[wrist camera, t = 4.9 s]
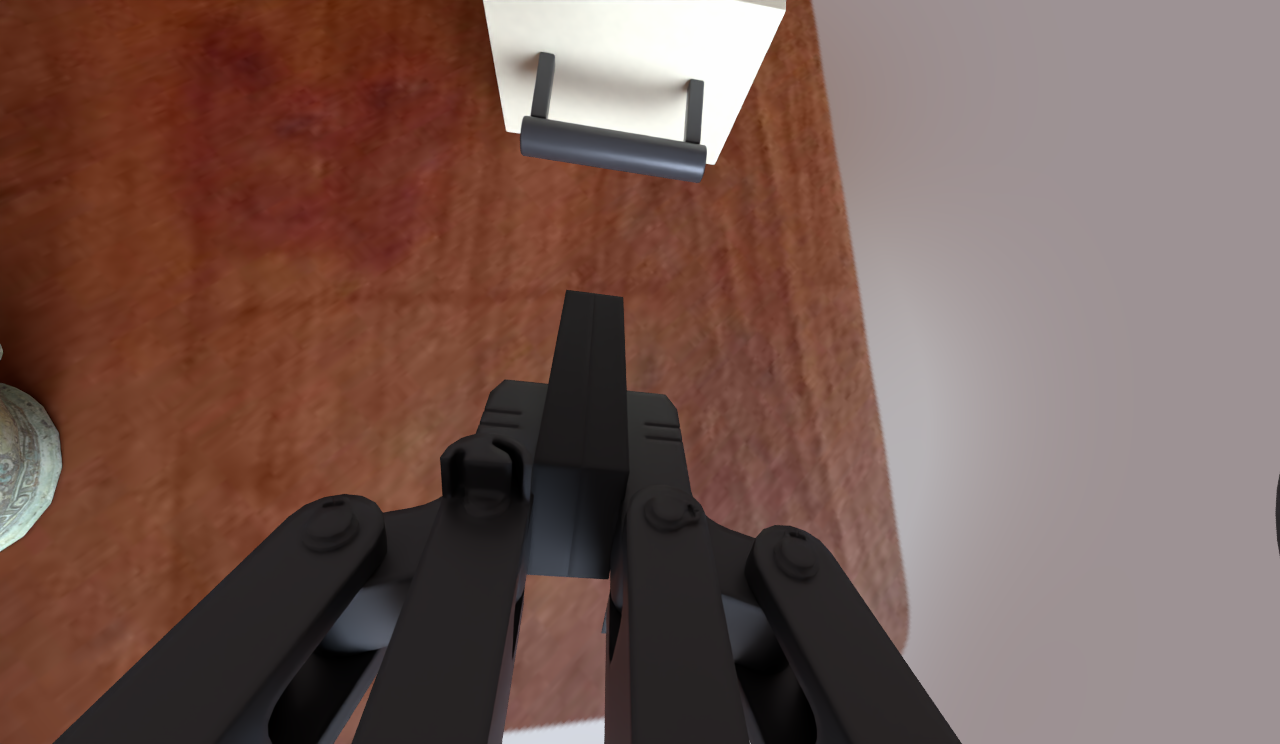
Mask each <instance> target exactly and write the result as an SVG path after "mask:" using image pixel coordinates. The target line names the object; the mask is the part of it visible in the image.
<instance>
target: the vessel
mask: <svg viewBox="0 0 1280 744" xmlns="http://www.w3.org/2000/svg"><path fill="white" fill-rule="evenodd" d="M2 354H3V349H2V346H1V344H0V360H1V358H2ZM61 469H62V458H61V448H60V437H59V432H58V431H57V429H56V427H55V426H54V424H53V422H52V420H51V419H50V417H49V415H48V414H47V412H46V410H45V409H44V407H43V406H42V405H41V404H39V403H38V402H37V401H36V400H35V399H34V398H32V397H31V396H30V395H28V394H27V393H25V392H23V391H21V390H19V389H17V388H15V387H12V386H9V385H6V384H3V383H0V551H2V550H3V549H5V548H6V547H8V546H9V545H11V544H13V543H14V542H16V541H17V540H19V539H20V538H22V537H23V536H24V535H25V534H26V533H27V532H28V530H29V529H30V528H31V527H32V526H33V524H34V523H35V522H36V521H37V520H38V518H39V517H40V516H41V515H42V514H43V512H44V511H45V510H46V509H47V507H48V506H49V505H50V504H51V502H52V499H53V496H54V492H55V489H56V486H57V482H58V479H59V476H60V472H61Z"/></svg>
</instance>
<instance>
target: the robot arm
mask: <svg viewBox="0 0 1280 744" xmlns="http://www.w3.org/2000/svg"><path fill="white" fill-rule="evenodd" d="M440 463H441V478H442V493H443V496H442V497H440V498H439V499H436V500H434V501H432V502H430V503H427V504H425V505H421V506H417V507H413V508H408V509H402V510H396V511H390V512H385V513H383V512H382V511H381V510H380V508H379V507H378V505H377V504H376V503H375V502H373V501H371V500H369V499H367V498H365V497H363V496H358V495H348V494H342V495H335V496H329V497H324V498H321V499H319V500H316V501H314V502H311V503H309V504H306V505H304V506H303V507H302V508H300V509H299V510H297V511H296V512H295V513H293V514H292V515H291V516H289V517H288V518H287V519H286V520H285V521H284V522H283V523H282V524H281V525H280V526H279V527H277V528H276V529H275V530H274V531H273V532H272V533H271V534H270V535H269V536H268V537H267V538H266V539H265V540H264V541H263V542H262V543H261V544H260V545H259V546H258V547H257V548H256V549H255V550H254V551H252V552H251V553H250V554H249V555H248V556H247V557H246V558H245V559H244V560H243V561H242V562H241V563H240V564H239V565H238V566H237V567H236V568H235V569H234V570H233V571H232V572H231V573H230V574H229V575H227V576H226V577H225V578H224V579H223V580H222V581H221V582H220V583H219V584H218V585H217V586H216V587H215V588H214V589H213V590H212V591H211V592H210V593H209V594H208V595H207V596H206V597H205V598H204V599H203V600H201V601H200V602H199V603H198V604H197V605H196V606H195V607H194V608H193V609H192V610H191V611H190V612H189V613H188V614H187V615H186V616H185V617H184V618H183V619H182V620H181V621H180V622H179V623H178V624H176V625H175V626H174V627H173V628H172V629H171V630H170V631H169V632H168V633H167V634H166V635H165V636H164V637H163V638H162V639H161V640H160V641H159V642H158V643H157V644H156V645H155V646H154V647H153V648H152V649H150V650H149V651H148V652H147V653H146V654H145V655H144V656H143V657H142V658H141V659H140V660H139V661H138V662H137V663H136V664H135V665H134V666H133V667H132V668H131V669H130V670H129V671H128V672H127V673H125V674H124V675H123V676H122V677H121V678H120V679H119V680H118V681H117V682H116V683H115V684H114V685H113V686H112V687H111V688H110V689H109V690H108V691H107V692H106V693H105V694H104V695H103V696H102V697H100V698H99V699H98V700H97V701H96V702H95V703H94V704H93V705H92V706H91V707H90V708H89V709H88V710H87V711H86V712H85V713H84V714H83V715H82V716H81V717H80V718H79V719H78V720H77V721H76V722H74V723H73V724H72V725H71V726H70V727H69V728H68V729H67V730H66V731H65V732H64V733H63V734H62V735H61V736H60V737H59V738H58V739H57V740H56V741H55V742H54V743H53V744H334V742H335V740H336V739H337V737H338V736H339V734H340V732H341V731H342V729H343V728H344V726H345V724H346V723H347V721H348V720H349V718H350V716H351V715H352V713H353V712H354V710H355V708H356V707H357V705H358V704H359V702H360V700H361V699H362V697H363V696H364V694H365V692H366V691H367V689H368V688H369V686H370V684H371V683H372V681H373V680H374V678H375V676H376V675H377V676H376V679H375V682H374V684H373V687H372V690H371V693H370V695H369V698H368V701H367V703H366V706H365V709H364V711H363V714H362V717H361V720H360V722H359V725H358V728H357V730H356V733H355V736H354V738H353V741H352V744H502V738H503V732H504V726H505V719H506V713H507V706H508V700H509V694H510V687H511V681H512V675H513V668H514V662H515V656H516V649H517V643H518V636H519V630H520V624H521V617H522V611H523V605H524V589H525V581H526V575H527V574H528V575H544V576H561V577H578V578H594V579H608V578H609V573H610V594H609V599H608V603H607V608H606V613H605V618H604V623H603V628H602V633H606V675H605V740H604V741H605V742H604V744H750V743H751V744H962V743H961V742H960V740H959V739H958V737H957V736H956V734H955V733H954V732H953V730H952V729H951V727H950V726H949V724H948V723H947V721H946V720H945V718H944V717H943V716H942V714H941V713H940V711H939V710H938V708H937V707H936V705H935V704H934V702H933V701H932V699H931V698H930V697H929V695H928V694H927V692H926V691H925V689H924V688H923V686H922V685H921V683H920V682H919V680H918V679H917V678H916V676H915V675H914V673H913V672H912V670H911V669H910V667H909V666H908V664H907V663H906V662H905V660H904V659H903V657H902V656H901V654H900V653H899V651H898V650H897V648H896V647H895V645H894V644H893V643H892V641H891V640H890V638H889V637H888V635H887V634H886V632H885V631H884V629H883V628H882V626H881V625H880V624H879V622H878V621H877V619H876V618H875V616H874V615H873V613H872V612H871V610H870V609H869V607H868V606H867V605H866V603H865V602H864V600H863V599H862V597H861V596H860V594H859V593H858V591H857V590H856V589H855V587H854V586H853V584H852V583H851V581H850V580H849V578H848V577H847V575H846V574H845V572H844V571H843V570H842V568H841V567H840V565H839V564H838V562H837V561H836V559H835V558H834V556H833V555H832V553H831V552H830V551H829V550H828V549H827V548H826V547H825V546H824V545H823V544H822V542H821V541H820V540H818V539H817V538H815V537H814V536H812V535H811V534H809V533H807V532H806V531H804V530H801V529H798V528H795V527H792V526H782V525H774V526H772V527H769V528H766V529H763V530H762V531H761V533H760V534H759V535H758V536H757V537H756V538H753V537H750V536H747V535H744V534H741V533H739V532H736V531H733V530H730V529H728V528H725V527H723V526H721V525H719V524H717V523H716V522H714V521H713V520H711V519H710V518H708V517H707V516H706V515H705V513H704V511H703V508H702V506H701V505H700V504H699V502H698V501H697V500H696V499H695V498H694V497H693V496H692V493H691V488H690V482H689V476H688V470H687V465H686V459H685V453H684V447H683V442H682V436H681V430H680V424H679V418H678V412H677V409H676V408H675V406H674V405H673V404H672V402H671V401H670V400H669V399H668V397H667V396H666V395H663V394H654V393H644V392H635V391H627V387H626V360H625V334H624V307H623V297H618V296H610V295H602V294H595V293H587V292H579V291H571V290H566V294H565V299H564V305H563V310H562V315H561V320H560V326H559V331H558V336H557V341H556V347H555V352H554V357H553V362H552V368H551V373H550V378H549V383H548V384H543V383H534V382H524V381H515V380H504V381H503V382H502V383H500V384H499V385H498V386H497V387H496V388H495V389H494V390H492V391H491V392H490V395H489V397H488V400H487V403H486V406H485V410H484V412H483V414H482V417H481V420H480V425H479V426H478V429H477V432H476V434H474V435H470V436H467V437H463V438H461V439H459V440H458V441H456V442H455V443H453V444H451V445H450V446H448V448H447V449H446V450H445V452H444V453H443V454H442V456H441V457H440ZM377 673H378V674H377ZM749 741H750V742H749Z"/></svg>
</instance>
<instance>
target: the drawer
mask: <svg viewBox="0 0 1280 744" xmlns="http://www.w3.org/2000/svg"><path fill="white" fill-rule="evenodd" d="M483 3H484V9H485V15H486V20H487V26H488V31H489V37H490V43H491V48H492V54H493V60H494V65H495V71H496V77H497V82H498V88H499V94H500V99H501V105H502V111H503V116H504V122H505V128H506V131H508V132H514V133H520V149H521V154H522V155H523V156H529V157H535V158H542V159H548V160H555V161H561V162H567V163H574V164H580V165H586V166H593V167H599V168H605V169H612V170H618V171H625V172H631V173H637V174H644V175H650V176H656V177H663V178H669V179H676V180H682V181H688V182H695V183H699V182H700V181H701V179H702V177H703V174H704V170H705V165H706V164H712V165H715V163H716V161H717V159H718V156H719V154H720V152H721V150H722V148H723V146H724V143H725V141H726V139H727V137H728V135H729V133H730V130H731V128H732V126H733V124H734V122H735V120H736V117H737V115H738V113H739V111H740V109H741V107H742V104H743V102H744V100H745V98H746V96H747V94H748V91H749V89H750V87H751V85H752V83H753V80H754V78H755V76H756V74H757V72H758V70H759V67H760V65H761V63H762V61H763V59H764V57H765V54H766V52H767V50H768V48H769V46H770V44H771V41H772V39H773V37H774V35H775V33H776V31H777V28H778V26H779V24H780V22H781V20H782V18H783V15H784V13H785V11H786V0H483Z"/></svg>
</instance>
